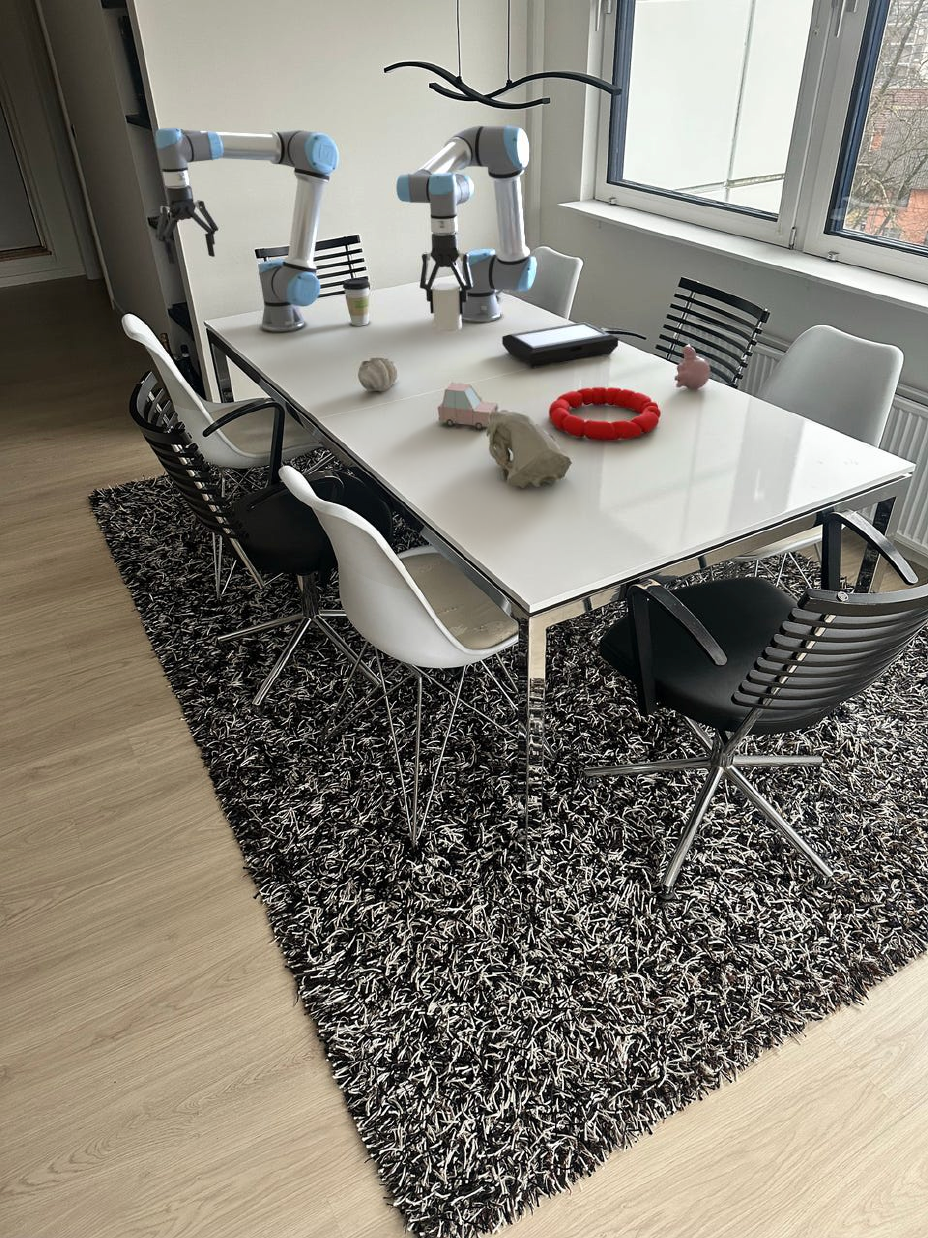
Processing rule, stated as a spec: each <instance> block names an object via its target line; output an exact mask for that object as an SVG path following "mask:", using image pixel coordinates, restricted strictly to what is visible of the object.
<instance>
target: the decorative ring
mask: <svg viewBox="0 0 928 1238" xmlns="http://www.w3.org/2000/svg"><path fill="white" fill-rule="evenodd" d="M583 405H584V406H586V407H587V406H591V405H593V406H604V405H608V406H614V407H619V408H624V409H628V410H632V411H635V412H636V413H638V414H639V415H637V416H635V417H632V418H631V419H630V420H625V419H624V420H623V419H622V420H614V421H611V422H609V421H607V420H606V421H605V420H593V419H587V420H586V421H585V419H584V418H582V417H579V416H577V415H573V414H571V413H570V410H571V409H579V408H581V407H582V406H583ZM548 416H549V419H550V422H551V423H552V425H553V426H554V427H555V428H556V429H558V430H559V431H561V432H563V433H567V434H568V435H569V436H573V437H576V438H580V439H582V438H583V437H585V438H586V439H587V440H591V441H601V442H602V441H603V442H608V441H609V442H610V441H611V442H612V441H615V442H616V441H618V440H630V439H634V438H638V437H641V436H642V434H647V433H650V432H651V431H653V430H654V429H655V428H656V427H657V426H658V424H659V422H660V421H659V420H660V417H661V410H660V408H659V405H658V403H657V402H656V401H652V399H651V397H649V396H648V395H646V394H644V393H642V392H635V391H634V390H632V389H628V388H624V389H622V388H620V387H613V386H612V387H611V386H610V387H608V388H606V387H604V386H594V387H585V388H584V387H583V388H580V389H578V390H571V391H568V392H565V393H563V394H561V395H560V396H558V397H557V398H556V400H554V401H552V403H551V404H550V407H549V409H548Z"/></svg>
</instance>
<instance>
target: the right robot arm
mask: <svg viewBox="0 0 928 1238" xmlns="http://www.w3.org/2000/svg"><path fill="white" fill-rule="evenodd" d="M529 144H530V143H529V139H528V136H527V134H526V132H525V130H523V129H522V128H521V127H519V126H511V125H504V126H503V125H496V126H495V125H477V126H471V127H468V128H466V129H464V130H462V131H460V132H458V133H456V134H454V135H453V136H452V137H450V138H449V139H447V141H446V142H445V143H444V145H443V148H442V149H441V150H440V151H439V152H438V153H436V154H435V155H434V156H433V157H431V159H430V160H428V161H427V162H426V163H425V164H423V165H422V166H421V167H420V168H418V169H417V170H416V171H415V172H413V173H402V174H400V175H399V176H398V177H397V181H396V194H397V198H398V200H400V201H401V202H403V203H410V204H412V203H413V204H429V206H430V230H431V231H430V232H432V234H431V251H430V252H426V251H425V252H423V254H422V255H421V259H422V267H421V275H420V281H419V288H420V289H422V290H424V291H425V294H426V301H427V302H428V303H429V307H430V308H429V309H430V314H433V315H434V311H433V290H432V287H433V284H434V283H435V280H436V277H437V274H438V272H439V269H440V268H444V267H446V268H450V269H451V271H452V272H453V274H454V276H455V278H456V281H457V282H458V283H457V284H459V285H460V288H461V291H460V314H461V321H462V322H467V323H490V322H493V321H496V320H498V319H499V318H500V317H501V310H500V308H499V304H498V302H499V300H500V297H499V296H498V294H500V293H502V292H503V291H510V292H511V291H512V292H527V291H529V290H530V289H531V288H532V286H533V283H534V281H535V277H536V273H537V259H536V257H535V256H533V255H531V252H530V248H529V247H528V246H526V242H525V231H524V229H525V228H524V218H523V217H524V214H523V203H522V190H521V178H520V177H521V175H522V174H523V173H524V171H525V169H524V168H526V167H527V165H528V164H529V159H530V156H529V154H530V145H529ZM467 167H477V168H478V167H480V168H487V172H488V177H490V179H492V180H493V187H494V188H493V189H494V197H495V209H496V220H497V229H498V239H499V249H498V250H497V251H496V250H495V249H494V248H479V249H475V250H471V251H468V252H465V253H464V252H460V251H459V240H458V234H457V232H458V212H457V211H458V210H457V209H458V208H457V206H459V205H461V204H464V203H466V202H467V201H468V200H470V199H471V197H472V196H473V194H474V187H475V186H474V183H473V180H472V178H471V177H470V176H468V175H467V174H465V173H457V172H458V171H462V170H465V169H466V168H467ZM431 258H432V260H433V261H434V263H435V264H434V266H433V269H432V271H431V274H430V276H429V279H428V282H427V275H428V268H429V262H430V260H431ZM459 258H460V261H461V262H462V263H461V265H462V266H461V270H462V273H461V270H460V268H459V265H458V263H457V260H458V259H459ZM496 290H497V291H496Z"/></svg>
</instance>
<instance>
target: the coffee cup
mask: <svg viewBox="0 0 928 1238" xmlns="http://www.w3.org/2000/svg"><path fill="white" fill-rule="evenodd" d="M370 287H371V283H370V282H369V279H367V278H365V277H351V278H347V279H345V280H344V281H343V285H342V288H343V290H344V297H345V301H346V305H347V310H348V314H349V318H350V323H351V325H353V326H357V327H359V326H365V325H368V324H369V317H370V316H369V313H370Z"/></svg>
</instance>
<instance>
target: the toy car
mask: <svg viewBox="0 0 928 1238" xmlns="http://www.w3.org/2000/svg"><path fill="white" fill-rule="evenodd" d="M498 409H499V404H498V403H497V402H490V401H489V402H487V401H483V397H481V396H480V395H479V394H478V393H477V391H476V390H475V389H474V386H472V384H469V383H459V382H451V383H450V384H449V385H448V386H447V387H446V388H445V389H444V394H443V399H442V403H440V404H439V405H438V406H437V413H438V421H439V422H443V423H446V425H447V426H448V427H452V426H454V425H455V424H461V425H469V426H473V427H475V429H476V430H479V431H480V430H481V429H483V428H485V427H486V428H487V423H488V422H490V414H491V413H492V412H496V411H499V410H498Z"/></svg>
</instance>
